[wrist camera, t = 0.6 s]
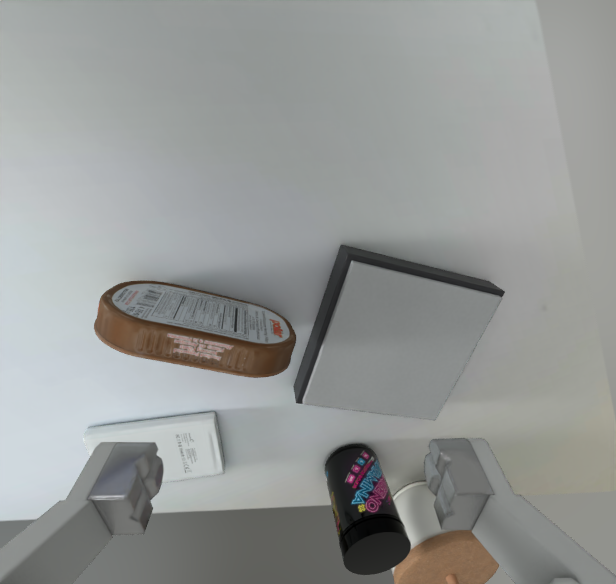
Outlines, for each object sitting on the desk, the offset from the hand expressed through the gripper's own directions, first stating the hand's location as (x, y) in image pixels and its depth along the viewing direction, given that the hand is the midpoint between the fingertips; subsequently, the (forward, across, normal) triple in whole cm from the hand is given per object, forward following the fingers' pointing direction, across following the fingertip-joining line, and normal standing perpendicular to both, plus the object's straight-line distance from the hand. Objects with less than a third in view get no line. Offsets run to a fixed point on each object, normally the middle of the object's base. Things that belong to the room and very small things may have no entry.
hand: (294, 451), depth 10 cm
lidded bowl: (+19, -16, +40) cm, 47 cm away
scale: (+22, -9, +13) cm, 27 cm away
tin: (+20, +8, +8) cm, 23 cm away
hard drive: (+17, +15, +24) cm, 33 cm away
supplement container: (+19, -6, +30) cm, 36 cm away
